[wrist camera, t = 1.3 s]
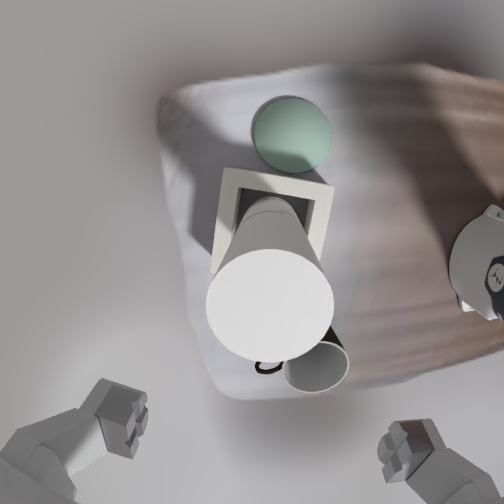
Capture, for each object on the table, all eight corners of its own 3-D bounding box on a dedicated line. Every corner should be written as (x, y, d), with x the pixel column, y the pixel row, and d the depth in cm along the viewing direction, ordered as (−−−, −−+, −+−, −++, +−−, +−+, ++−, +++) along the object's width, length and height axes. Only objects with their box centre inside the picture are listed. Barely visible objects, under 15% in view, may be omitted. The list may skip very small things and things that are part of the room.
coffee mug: (342, 308, 43) (359, 345, 34) (326, 354, 46) (336, 395, 36) (266, 295, 43) (265, 332, 34) (255, 344, 46) (252, 385, 36)
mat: (335, 107, 35) (336, 106, 35) (324, 179, 38) (324, 179, 38) (260, 93, 35) (260, 92, 35) (248, 166, 38) (248, 166, 38)
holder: (327, 183, 38) (334, 186, 34) (308, 275, 42) (312, 289, 37) (229, 167, 39) (223, 167, 34) (216, 260, 42) (209, 273, 38)
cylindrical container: (245, 193, 39) (207, 242, 16) (300, 199, 39) (344, 255, 15) (241, 245, 42) (205, 355, 18) (293, 250, 41) (321, 365, 17)
